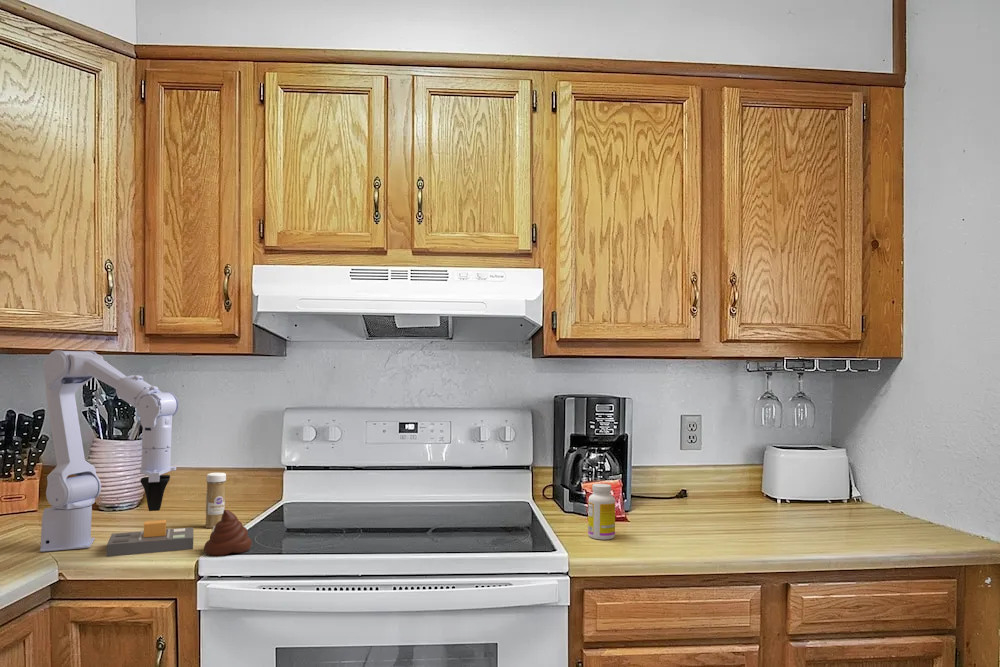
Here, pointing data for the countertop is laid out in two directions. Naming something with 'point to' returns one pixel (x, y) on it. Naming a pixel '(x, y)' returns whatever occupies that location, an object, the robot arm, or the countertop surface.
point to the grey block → (149, 542)
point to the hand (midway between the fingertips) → (154, 510)
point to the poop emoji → (228, 537)
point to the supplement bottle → (601, 513)
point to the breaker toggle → (155, 528)
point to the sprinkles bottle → (215, 498)
